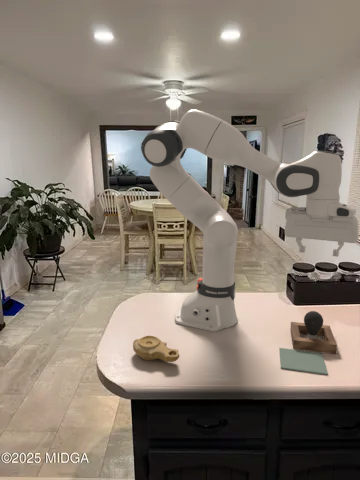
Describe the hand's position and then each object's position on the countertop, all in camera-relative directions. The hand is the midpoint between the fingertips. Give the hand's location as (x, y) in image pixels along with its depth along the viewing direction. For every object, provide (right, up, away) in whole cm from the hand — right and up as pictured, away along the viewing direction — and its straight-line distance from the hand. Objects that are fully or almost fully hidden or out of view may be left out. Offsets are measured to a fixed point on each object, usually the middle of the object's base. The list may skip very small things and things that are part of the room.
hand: (318, 254), depth 98 cm
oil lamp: (-49, -30, -3) cm, 57 cm away
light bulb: (0, -28, +5) cm, 28 cm away
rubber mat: (-7, -30, -6) cm, 32 cm away
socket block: (0, -28, +5) cm, 28 cm away
